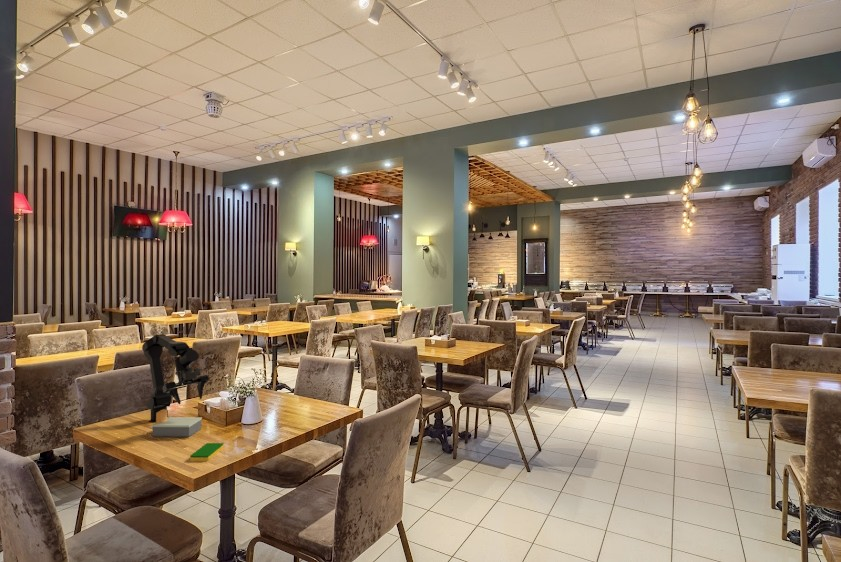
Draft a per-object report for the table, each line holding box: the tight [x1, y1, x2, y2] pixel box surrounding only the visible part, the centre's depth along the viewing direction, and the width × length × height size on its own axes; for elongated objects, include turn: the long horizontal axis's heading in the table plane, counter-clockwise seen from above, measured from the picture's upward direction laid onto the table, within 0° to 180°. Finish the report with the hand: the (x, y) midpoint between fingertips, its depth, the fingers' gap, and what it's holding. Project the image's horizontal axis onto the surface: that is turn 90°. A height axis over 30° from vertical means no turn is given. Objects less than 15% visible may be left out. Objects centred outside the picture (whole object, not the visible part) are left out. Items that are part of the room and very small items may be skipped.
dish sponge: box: [189, 442, 225, 462], centre depth 179 cm, size 7×14×2 cm, turn 0°
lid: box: [151, 409, 203, 428], centre depth 203 cm, size 16×11×6 cm
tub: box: [152, 419, 202, 438], centre depth 203 cm, size 16×11×4 cm
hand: (190, 401), depth 204 cm, fingers open, 9 cm apart
